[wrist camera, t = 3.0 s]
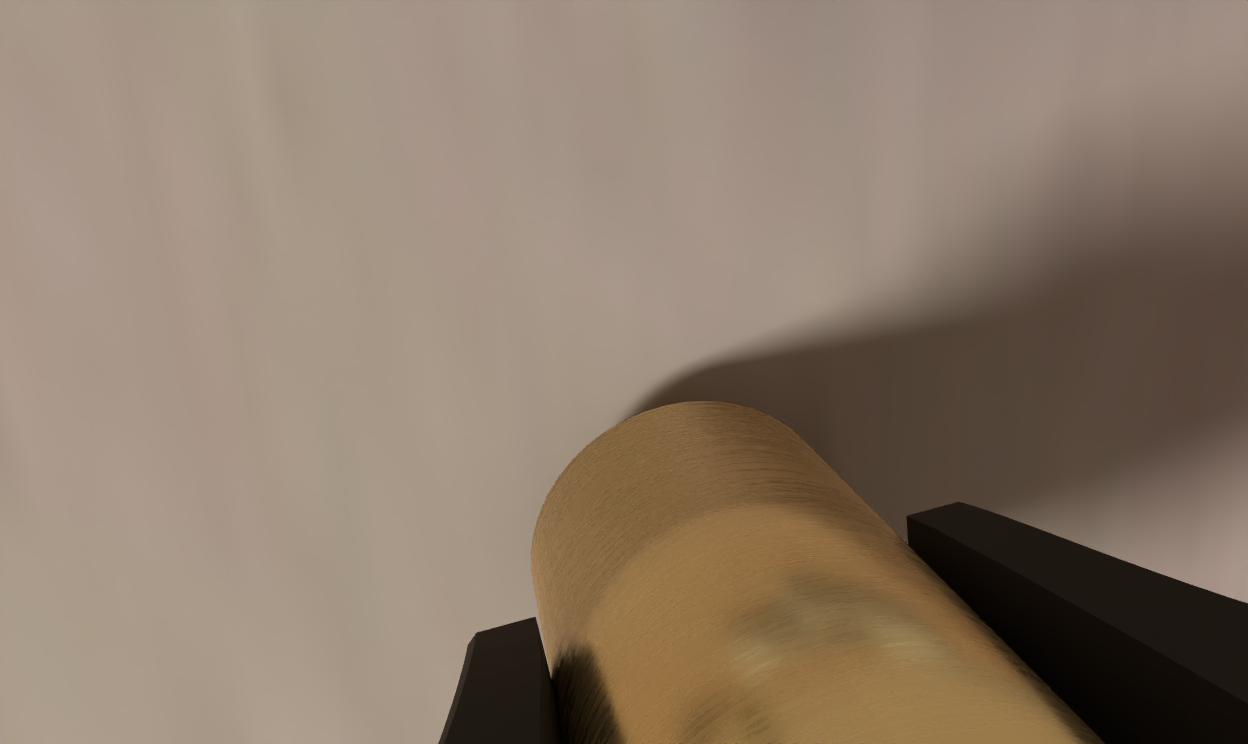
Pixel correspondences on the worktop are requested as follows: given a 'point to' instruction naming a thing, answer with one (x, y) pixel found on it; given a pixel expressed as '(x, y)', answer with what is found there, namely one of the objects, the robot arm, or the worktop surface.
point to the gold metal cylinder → (757, 602)
